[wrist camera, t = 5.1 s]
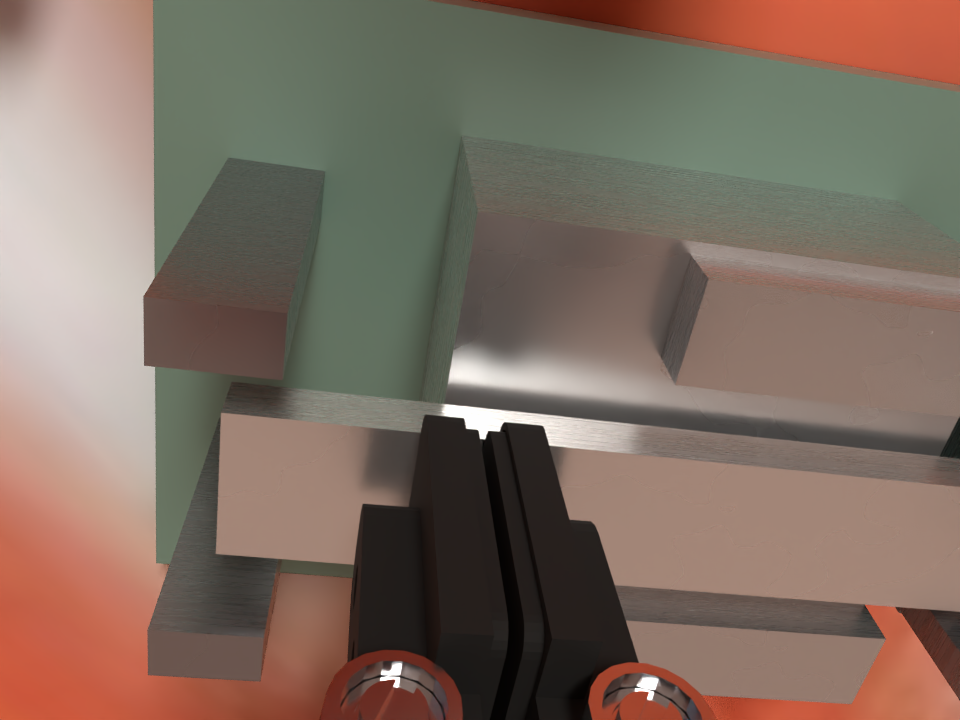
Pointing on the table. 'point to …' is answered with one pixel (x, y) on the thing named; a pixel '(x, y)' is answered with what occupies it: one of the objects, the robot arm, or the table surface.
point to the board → (435, 149)
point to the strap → (611, 497)
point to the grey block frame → (599, 366)
